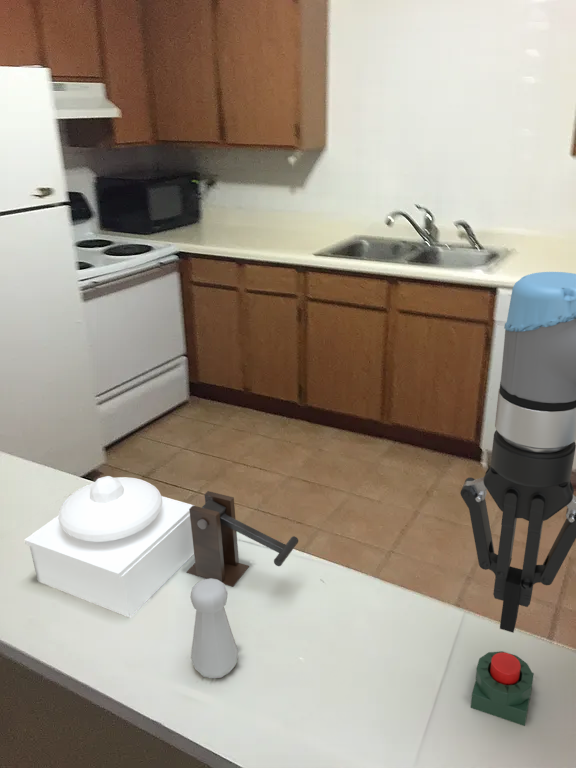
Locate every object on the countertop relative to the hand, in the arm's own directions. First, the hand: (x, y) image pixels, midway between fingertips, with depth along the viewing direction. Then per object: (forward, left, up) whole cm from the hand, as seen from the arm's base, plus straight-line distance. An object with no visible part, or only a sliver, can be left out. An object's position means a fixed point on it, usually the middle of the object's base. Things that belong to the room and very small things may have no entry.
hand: (508, 622), depth 74 cm
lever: (+37, -5, -3) cm, 37 cm away
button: (0, 0, -8) cm, 8 cm away
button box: (0, 0, -11) cm, 11 cm away
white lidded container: (+56, -1, -11) cm, 57 cm away
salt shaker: (+33, +10, -11) cm, 36 cm away
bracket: (+42, -5, -11) cm, 44 cm away
